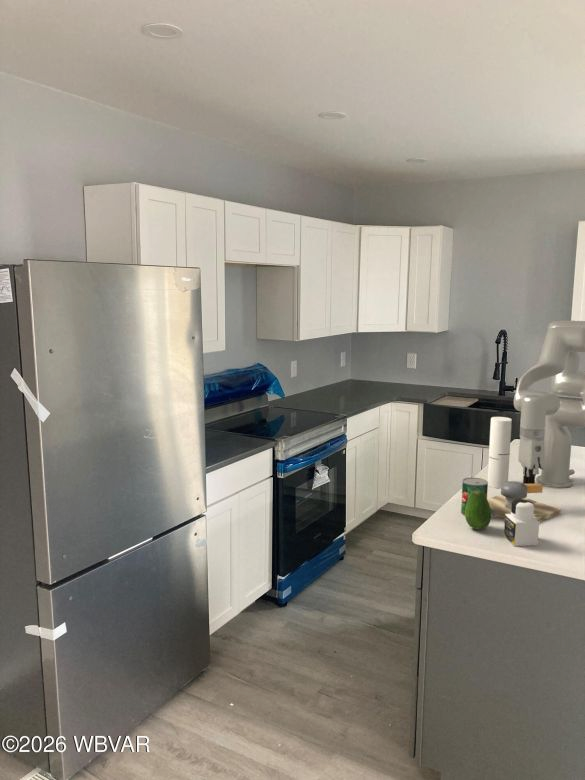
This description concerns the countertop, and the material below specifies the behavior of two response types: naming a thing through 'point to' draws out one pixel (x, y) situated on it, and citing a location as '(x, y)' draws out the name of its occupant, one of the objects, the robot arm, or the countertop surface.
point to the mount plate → (541, 511)
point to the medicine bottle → (521, 524)
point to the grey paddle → (519, 489)
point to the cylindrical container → (499, 451)
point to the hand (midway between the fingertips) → (528, 487)
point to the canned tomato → (472, 489)
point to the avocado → (477, 510)
